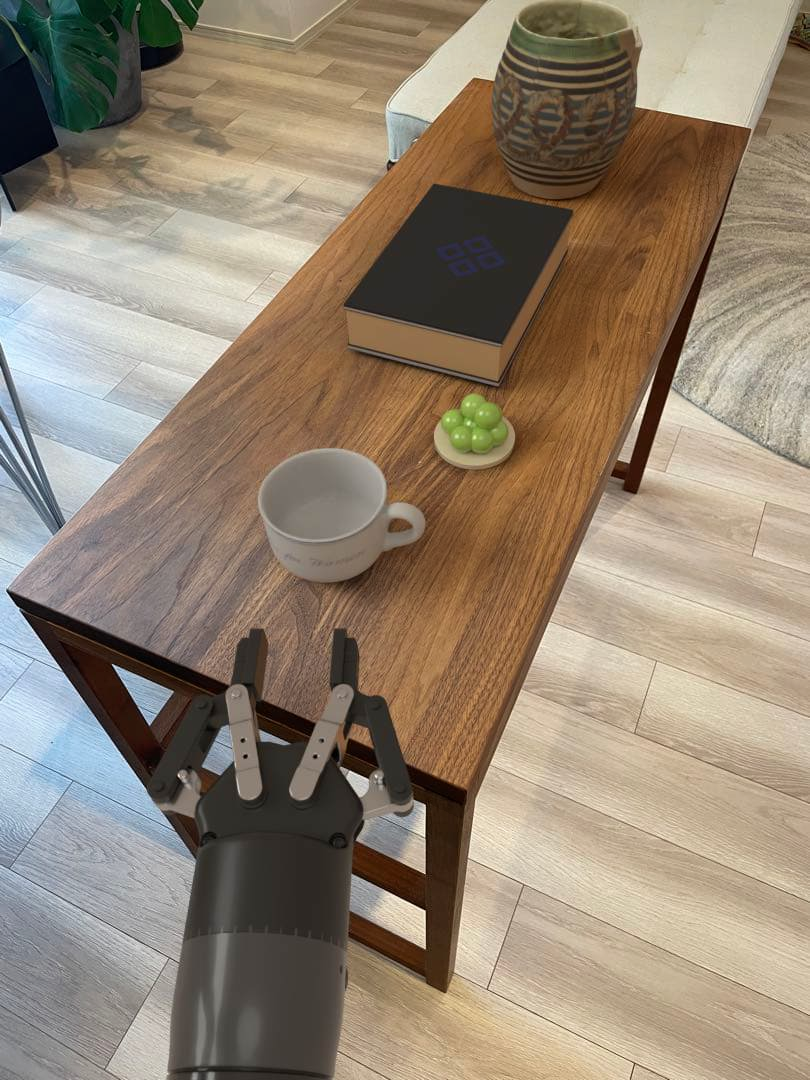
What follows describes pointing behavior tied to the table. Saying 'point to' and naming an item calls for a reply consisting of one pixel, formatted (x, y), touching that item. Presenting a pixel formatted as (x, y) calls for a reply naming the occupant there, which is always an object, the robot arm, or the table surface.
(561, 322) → the table surface
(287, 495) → the teacup
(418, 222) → the book
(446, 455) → the grapes
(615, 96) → the pottery
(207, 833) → the robot arm
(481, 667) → the table surface
